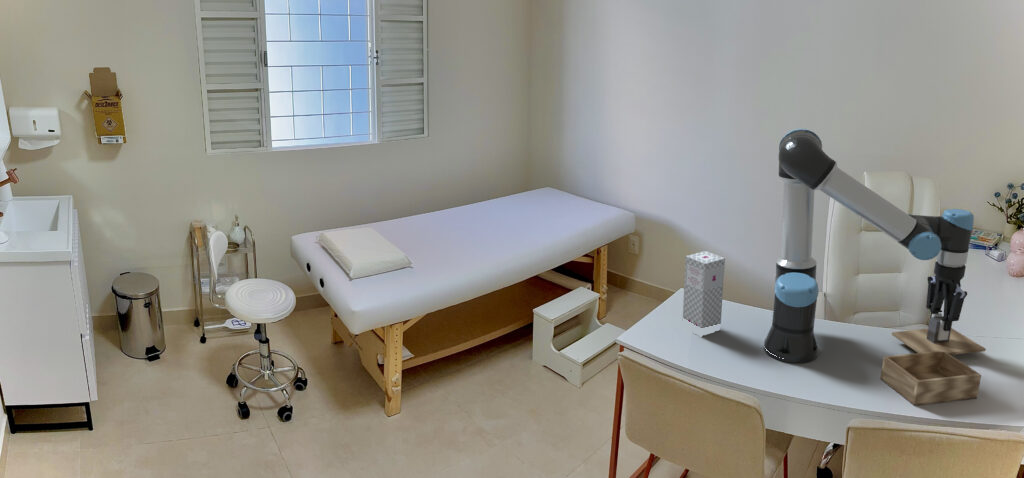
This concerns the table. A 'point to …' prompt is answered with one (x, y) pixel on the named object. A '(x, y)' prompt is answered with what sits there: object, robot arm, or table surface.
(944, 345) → the lid
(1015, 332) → the table surface
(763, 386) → the table surface
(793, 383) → the table surface
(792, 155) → the robot arm
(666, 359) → the table surface
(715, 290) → the box
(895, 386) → the wooden box
